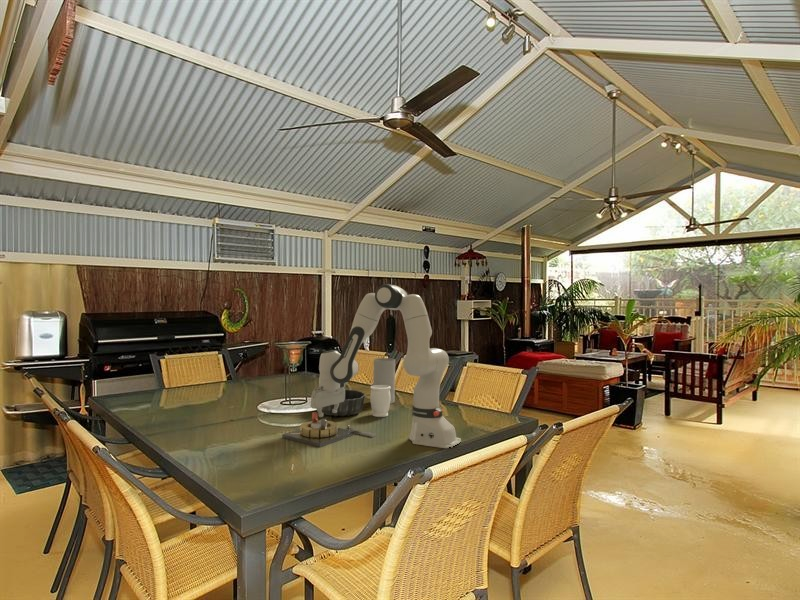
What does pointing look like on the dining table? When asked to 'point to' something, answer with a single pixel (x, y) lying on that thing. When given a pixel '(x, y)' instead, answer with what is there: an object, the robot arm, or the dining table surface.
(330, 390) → the robot arm
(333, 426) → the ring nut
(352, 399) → the bundt pan
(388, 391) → the jar
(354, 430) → the spanner
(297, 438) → the cap plate
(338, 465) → the dining table surface
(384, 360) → the cylinder vase
